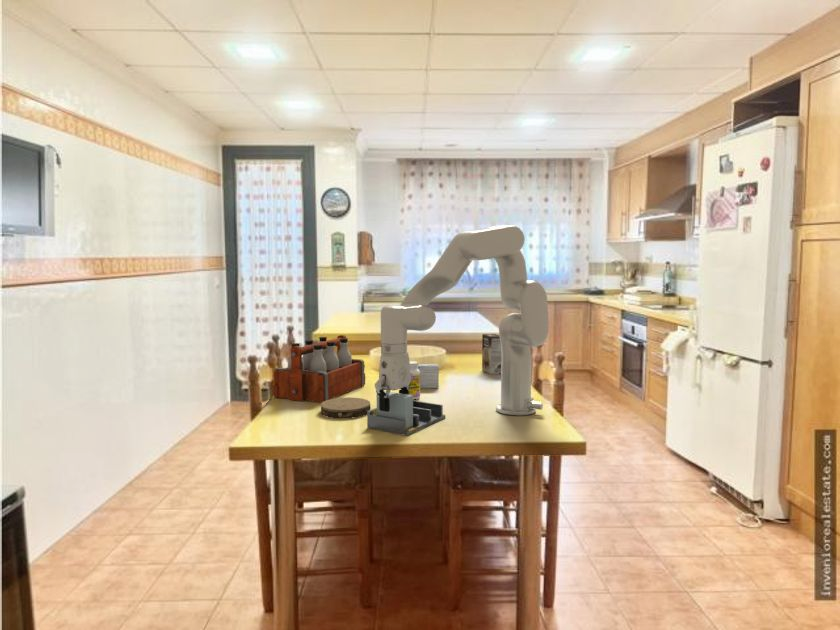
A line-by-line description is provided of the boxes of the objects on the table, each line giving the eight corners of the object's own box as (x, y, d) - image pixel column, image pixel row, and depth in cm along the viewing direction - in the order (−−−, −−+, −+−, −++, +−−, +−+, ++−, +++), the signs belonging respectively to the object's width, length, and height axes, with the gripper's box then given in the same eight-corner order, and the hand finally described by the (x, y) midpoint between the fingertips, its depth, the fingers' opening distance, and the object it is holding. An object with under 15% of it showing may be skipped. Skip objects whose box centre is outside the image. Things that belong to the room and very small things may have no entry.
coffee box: (481, 370, 255) (481, 333, 253) (494, 369, 257) (495, 333, 255) (490, 374, 246) (490, 336, 245) (503, 373, 248) (504, 336, 247)
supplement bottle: (403, 401, 201) (403, 364, 200) (399, 396, 207) (399, 361, 206) (422, 399, 203) (422, 363, 202) (417, 395, 209) (417, 360, 208)
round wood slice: (325, 406, 196) (324, 397, 195) (372, 406, 196) (372, 397, 195) (316, 419, 180) (316, 410, 179) (368, 419, 180) (368, 409, 179)
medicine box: (438, 385, 225) (438, 363, 224) (438, 388, 220) (438, 366, 219) (417, 386, 224) (417, 364, 224) (417, 388, 220) (417, 366, 219)
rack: (445, 417, 180) (445, 402, 179) (407, 435, 162) (407, 418, 162) (407, 411, 187) (407, 396, 187) (367, 427, 170) (367, 411, 169)
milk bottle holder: (268, 399, 204) (267, 345, 202) (323, 380, 236) (322, 333, 234) (319, 405, 196) (318, 349, 194) (368, 384, 228) (368, 335, 226)
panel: (413, 425, 168) (412, 395, 167) (405, 429, 165) (405, 398, 164) (384, 420, 173) (384, 391, 173) (376, 423, 170) (376, 393, 169)
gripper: (387, 354, 157) (387, 416, 159) (421, 345, 172) (421, 402, 174) (365, 351, 161) (365, 412, 163) (400, 343, 176) (400, 399, 178)
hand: (394, 407), depth 168 cm, fingers open, 9 cm apart
